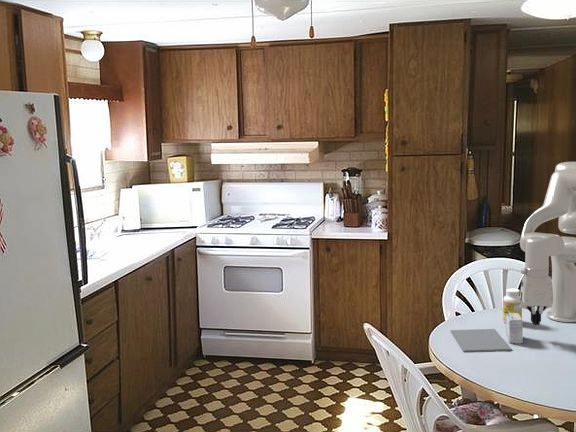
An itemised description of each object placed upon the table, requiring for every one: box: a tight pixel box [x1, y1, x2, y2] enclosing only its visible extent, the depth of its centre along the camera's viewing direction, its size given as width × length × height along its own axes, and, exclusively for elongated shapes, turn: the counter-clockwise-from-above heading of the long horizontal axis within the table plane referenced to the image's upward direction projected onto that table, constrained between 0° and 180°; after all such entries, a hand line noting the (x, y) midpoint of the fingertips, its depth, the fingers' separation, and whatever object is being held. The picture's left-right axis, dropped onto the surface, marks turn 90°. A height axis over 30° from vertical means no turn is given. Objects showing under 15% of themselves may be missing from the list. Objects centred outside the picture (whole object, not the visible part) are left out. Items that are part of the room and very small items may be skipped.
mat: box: [450, 328, 512, 353], centre depth 217 cm, size 20×16×1 cm
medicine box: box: [505, 313, 524, 345], centre depth 215 cm, size 8×4×9 cm, turn 168°
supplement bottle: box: [502, 287, 523, 324], centre depth 232 cm, size 7×7×13 cm
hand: (535, 323), depth 215 cm, fingers closed
